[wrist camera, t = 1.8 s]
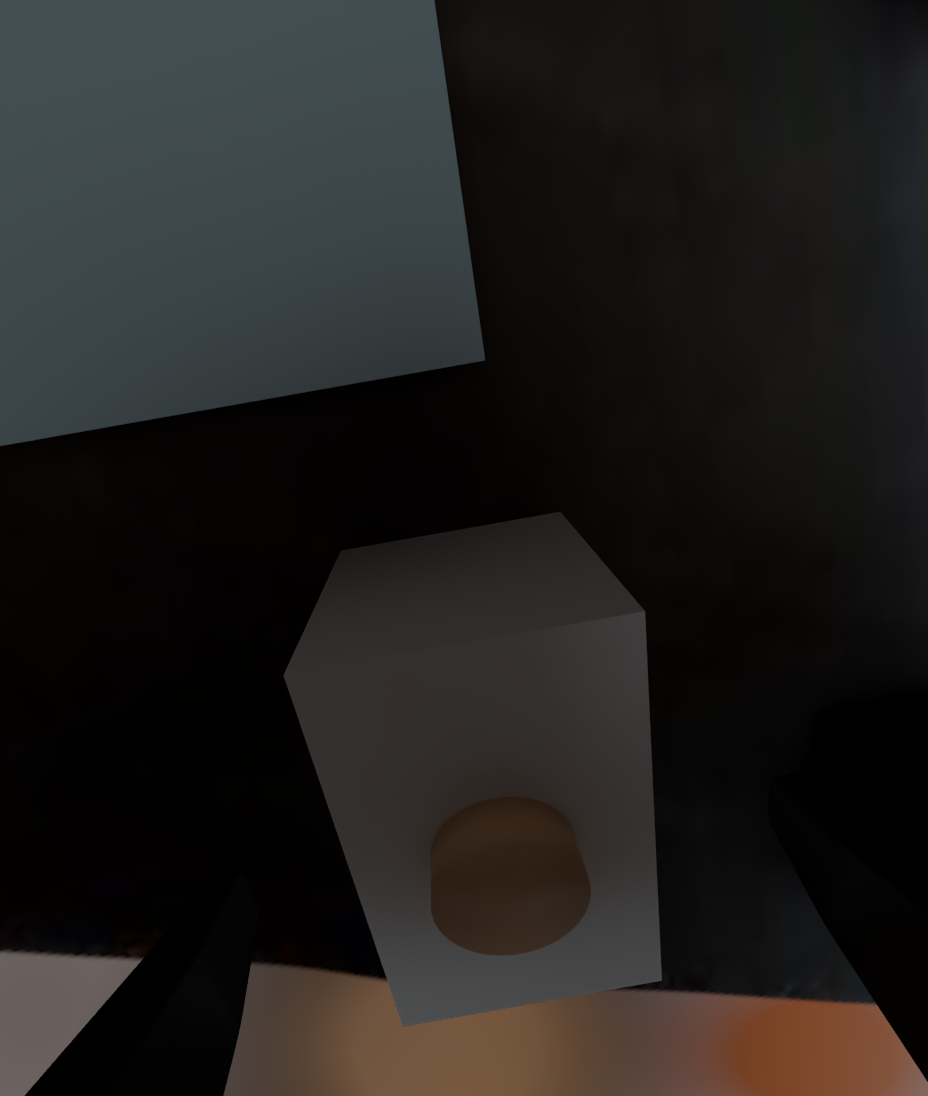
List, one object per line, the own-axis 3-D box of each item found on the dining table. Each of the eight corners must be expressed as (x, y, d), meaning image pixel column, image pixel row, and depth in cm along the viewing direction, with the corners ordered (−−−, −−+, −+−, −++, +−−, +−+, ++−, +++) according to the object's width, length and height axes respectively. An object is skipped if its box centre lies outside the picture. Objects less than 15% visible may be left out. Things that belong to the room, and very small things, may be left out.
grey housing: (559, 510, 12) (670, 641, 6) (586, 779, 15) (680, 1032, 9) (341, 548, 12) (265, 713, 6) (411, 810, 15) (400, 1081, 9)
